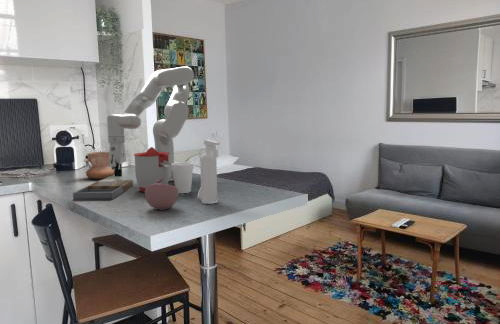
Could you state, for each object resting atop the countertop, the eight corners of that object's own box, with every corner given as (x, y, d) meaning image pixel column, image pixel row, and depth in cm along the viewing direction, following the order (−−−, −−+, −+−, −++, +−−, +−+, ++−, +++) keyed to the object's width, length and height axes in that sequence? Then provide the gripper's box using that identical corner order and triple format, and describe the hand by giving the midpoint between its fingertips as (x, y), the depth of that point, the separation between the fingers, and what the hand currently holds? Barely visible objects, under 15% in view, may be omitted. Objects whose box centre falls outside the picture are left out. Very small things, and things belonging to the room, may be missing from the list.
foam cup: (173, 195, 162) (172, 165, 160) (171, 191, 171) (170, 162, 169) (195, 194, 164) (194, 164, 163) (192, 189, 173) (192, 161, 171)
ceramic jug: (91, 182, 194) (89, 154, 192) (79, 178, 203) (78, 152, 202) (123, 178, 207) (122, 152, 205) (110, 174, 216) (110, 150, 215)
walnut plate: (133, 186, 182) (132, 180, 182) (123, 192, 168) (123, 185, 168) (100, 186, 182) (99, 180, 182) (87, 192, 168) (87, 186, 168)
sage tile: (122, 180, 181) (121, 176, 181) (117, 182, 176) (117, 178, 175) (109, 180, 181) (109, 176, 181) (104, 182, 175) (104, 178, 175)
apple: (180, 204, 146) (180, 175, 144) (175, 213, 134) (174, 181, 133) (149, 205, 146) (148, 176, 144) (142, 213, 134) (140, 182, 132)
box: (123, 192, 168) (122, 186, 168) (112, 199, 155) (111, 192, 154) (87, 192, 168) (87, 186, 168) (73, 200, 155) (72, 193, 154)
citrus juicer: (156, 195, 161) (154, 149, 159) (128, 191, 170) (125, 147, 168) (180, 189, 175) (179, 146, 172) (153, 185, 184) (151, 144, 181)
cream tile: (117, 183, 175) (116, 178, 174) (112, 185, 169) (112, 181, 168) (104, 183, 174) (103, 179, 174) (99, 185, 169) (98, 181, 168)
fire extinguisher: (205, 197, 157) (203, 137, 152) (224, 203, 148) (223, 140, 144) (191, 200, 152) (190, 139, 148) (211, 207, 144) (210, 142, 139)
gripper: (118, 141, 175) (120, 179, 178) (129, 138, 190) (130, 174, 193) (102, 141, 175) (104, 179, 178) (114, 138, 190) (116, 174, 193)
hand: (118, 177), depth 185 cm, fingers closed
